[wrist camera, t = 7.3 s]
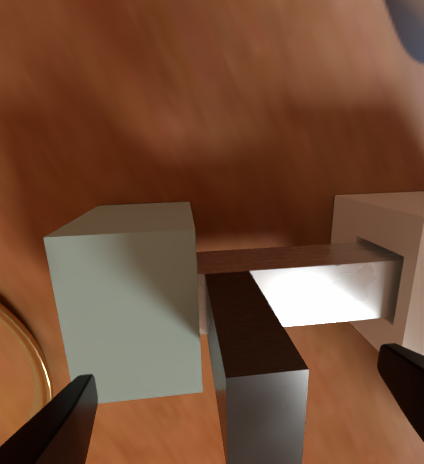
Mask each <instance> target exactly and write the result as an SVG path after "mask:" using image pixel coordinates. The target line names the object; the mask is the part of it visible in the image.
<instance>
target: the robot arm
mask: <svg viewBox="0 0 424 464" xmlns="http://www.w3.org/2000/svg"><path fill="white" fill-rule="evenodd" d="M377 368H378V371H379V373H380V375H381V377H382V379H383V380H384V382H385V383H386V385H387V387H388V388H389V390H390V392H391V393H392V395H393V397H394V398H395V400H396V401H397V403H398V405H399V406H400V408H401V410H402V411H403V413H404V414H405V416H406V418H407V419H408V421H409V422H410V424H411V425H412V426H413V428H414V429H415V431H416V432H417V434H418V435H419V436H420V438H421V439H422V440H423V442H424V355H421V354H419V353H417V352H414V351H412V350H410V349H408V348H405V347H403V346H401V345H398V344H396V343H387V344H382V345H381V346H380V350H379V356H378V363H377ZM97 405H98V394H97V388H96V382H95V377H94V375H93V374H84V375H79V376H77V377H76V378H75V379H74V380H73V381H71V382H70V383H69V384H68V385H67V386H66V387H65V388H64V389H63V390H62V391H61V392H59V393H58V394H57V395H56V396H55V397H54V398H53V399H52V400H51V401H50V402H48V403H47V404H46V405H45V406H44V407H43V408H42V409H41V410H40V411H39V412H38V413H36V414H35V415H34V416H33V417H32V418H31V419H30V420H29V421H28V422H27V423H25V424H24V425H23V426H22V427H21V428H20V429H19V430H18V431H17V432H16V433H15V434H13V435H12V436H11V437H10V438H9V439H8V440H7V441H6V442H5V443H4V444H3V445H1V446H0V464H85V462H86V458H87V453H88V448H89V443H90V439H91V434H92V429H93V424H94V419H95V414H96V410H97Z"/></svg>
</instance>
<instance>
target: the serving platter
mask: <svg viewBox="0 0 424 464" xmlns="http://www.w3.org/2000/svg"><path fill="white" fill-rule="evenodd" d="M0 320H1V321H2V322H3V323H4V324H5V325H6V326H7V327H8V329H9V330H10V331H11V332H12V333H13V334H14V336H15V337H16V338H17V340H18V341H19V343H20V344H21V346H22V348H23V349H24V351H25V353H26V355H27V358H28V360H29V362H30V366H31V369H32V373H33V379H34V399H33V403H32V408H31V411H30V414H29V417H28V420H27V422H28V421H29V420H30V419H31V418H32V417H33V416H34V415H35V414H36V413H38V412H39V411H40V410H41V409H42V408H43V407H44V406H45V405H46V404H47V403H48V402H50V401H51V400H52V399H53V387H52V380H51V376H50V372H49V368H48V365H47V363H46V360H45V358H44V355H43V353H42V351H41V350H40V348H39V346H38V344H37V342H36V341H35V339H34V338H33V336H32V335H31V333H30V332H29V331H28V330H27V328H26V327H25V326H24V325H23V324H22V322H21V321H20V320H19V319H18V318H17V317H16V316H15V315H14V314H13V313H12V312H11V311H10V310H8V309H7V308H6V307H5V306H4V305H3V304H1V303H0ZM40 367H41V368H40ZM44 385H45V386H44ZM44 403H45V404H44Z"/></svg>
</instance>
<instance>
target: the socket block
mask: <svg viewBox="0 0 424 464" xmlns="http://www.w3.org/2000/svg"><path fill="white" fill-rule="evenodd" d="M43 239H44V244H45V249H46V254H47V260H48V265H49V270H50V275H51V280H52V285H53V291H54V296H55V301H56V306H57V311H58V316H59V322H60V327H61V332H62V337H63V342H64V347H65V353H66V358H67V363H68V368H69V373H70V378H71V381H73V380H74V379H75V378H76V377H77V376H79V375H84V374H93V375H94V377H95V382H96V388H97V394H98V404H99V403H108V402H117V401H126V400H135V399H144V398H153V397H162V396H171V395H180V394H189V393H198V392H202V370H201V347H200V325H199V303H198V281H197V259H196V237H195V226H194V221H193V216H192V211H191V206H190V202H169V203H146V204H123V205H101V206H97V207H95V208H93V209H92V210H90V211H88V212H86V213H85V214H83V215H81V216H80V217H78V218H76V219H74V220H73V221H71V222H69V223H67V224H66V225H64V226H62V227H61V228H59V229H57V230H55V231H54V232H52V233H50V234H48V235H47V236H45V237H43Z"/></svg>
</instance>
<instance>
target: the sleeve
mask: <svg viewBox="0 0 424 464" xmlns="http://www.w3.org/2000/svg"><path fill="white" fill-rule="evenodd" d="M368 241H370V242H372V243H374V244H377V245H379V246H381V247H383V248H386V249H388V250H390V251H392V252H395V253H397V254H399V255H402V256H404V262H403V268H402V274H401V281H400V287H399V293H398V299H397V305H396V312H395V317H386V318H374V319H363V320H352V321H348V322H349V323H350V324H351V325H352V326H353V327H354V328H355V329H356V330H357V331H358V332H359V333H360V334H361V335H362V336H363V337H364V338H365V339H366V340H367V341H368V342H369V343H370V344H371V345H372V346H373V347H374V348H375V349H377V350H378V351H379V350H380V346H381V345H382V344H387V343H396V344H398V345H401V346H403V347H405V348H408V349H410V350H412V351H414V352H417V353H419V354H421V355H424V191H418V192H395V193H373V194H350V195H335V199H334V211H333V222H332V234H331V244H335V243H351V242H368Z"/></svg>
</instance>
